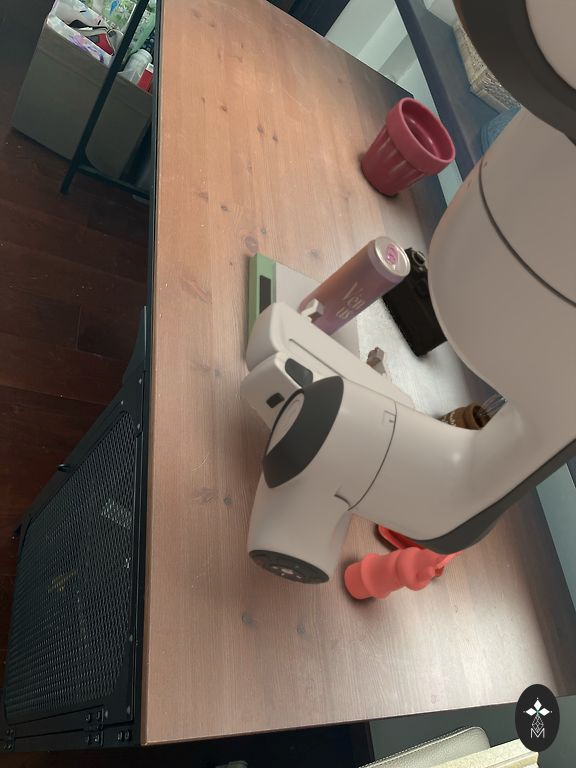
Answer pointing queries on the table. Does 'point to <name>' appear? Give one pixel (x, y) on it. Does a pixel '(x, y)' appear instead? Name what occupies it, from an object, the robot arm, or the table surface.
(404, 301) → the film camera
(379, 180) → the flower pot
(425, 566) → the figurine
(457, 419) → the utensil holder
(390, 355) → the table surface
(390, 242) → the beverage can
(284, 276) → the scale
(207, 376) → the table surface
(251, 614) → the table surface
